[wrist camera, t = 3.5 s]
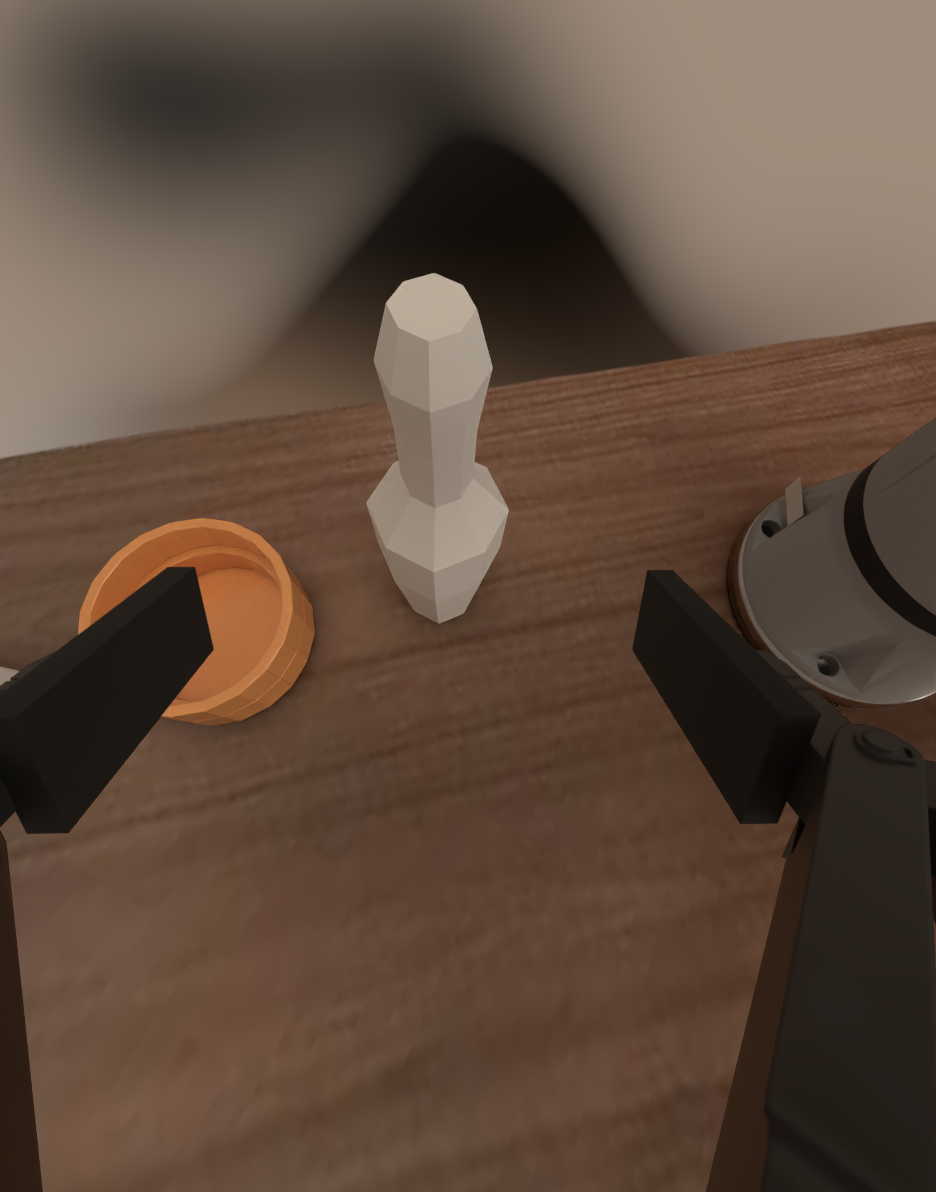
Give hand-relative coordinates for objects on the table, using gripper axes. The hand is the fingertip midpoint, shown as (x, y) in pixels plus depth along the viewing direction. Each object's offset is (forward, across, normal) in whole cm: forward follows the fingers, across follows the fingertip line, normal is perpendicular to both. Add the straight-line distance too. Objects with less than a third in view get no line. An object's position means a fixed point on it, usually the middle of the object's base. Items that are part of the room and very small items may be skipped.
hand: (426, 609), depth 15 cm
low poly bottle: (+18, 0, -8) cm, 19 cm away
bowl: (+15, -14, -10) cm, 23 cm away
